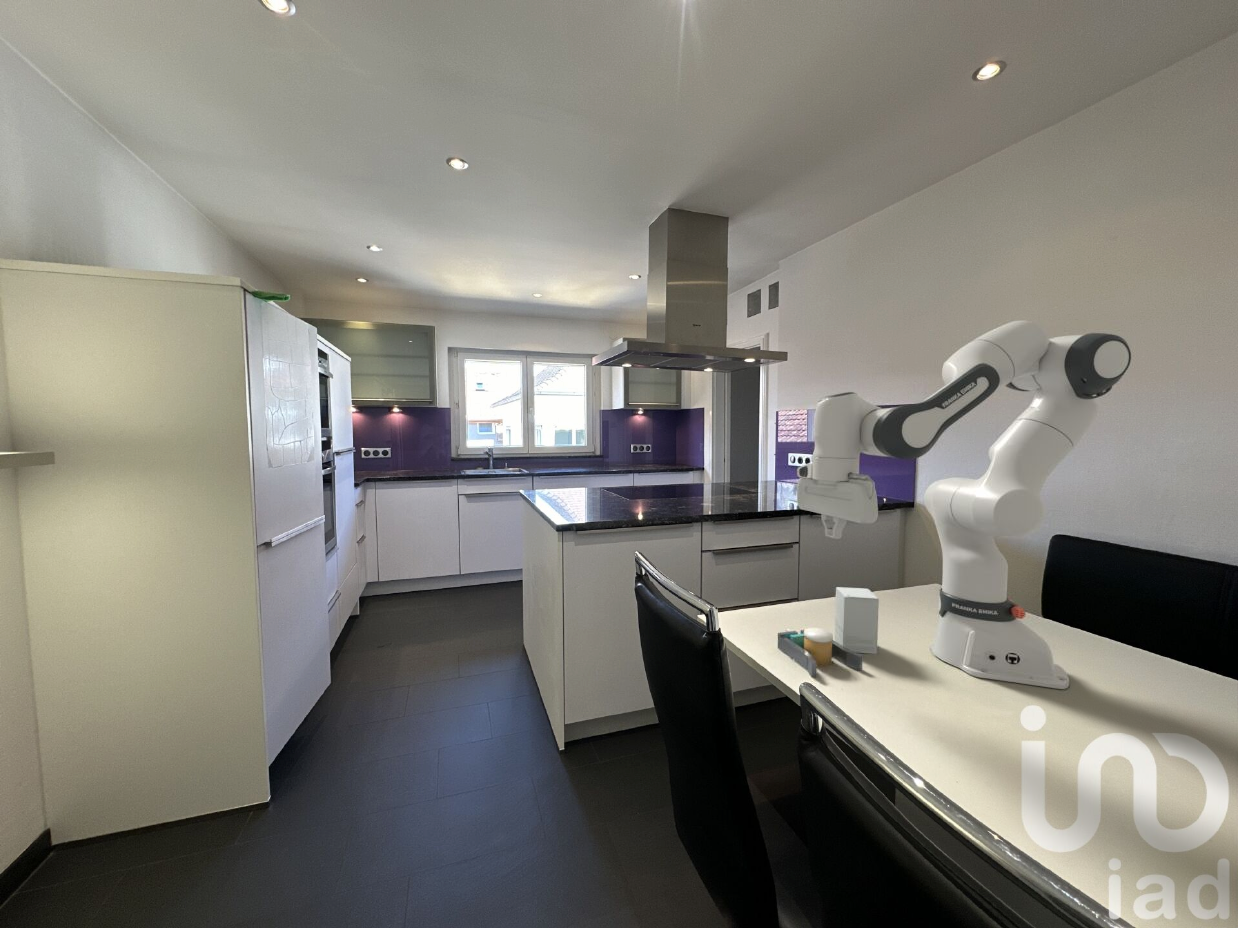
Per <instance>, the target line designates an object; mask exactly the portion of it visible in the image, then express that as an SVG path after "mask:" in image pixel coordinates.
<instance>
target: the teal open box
mask: <svg viewBox="0 0 1238 928" xmlns="http://www.w3.org/2000/svg"><path fill="white" fill-rule="evenodd" d="M790 631H792V630H791V629H789V628H788V627H787V628H786V629H785V632H790ZM790 640H791V641H793V642H794V643H795V644H797V645H798V646H800V647H801V648H803V649H804V634H800V633H798V634H796V635H790Z"/></svg>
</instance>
